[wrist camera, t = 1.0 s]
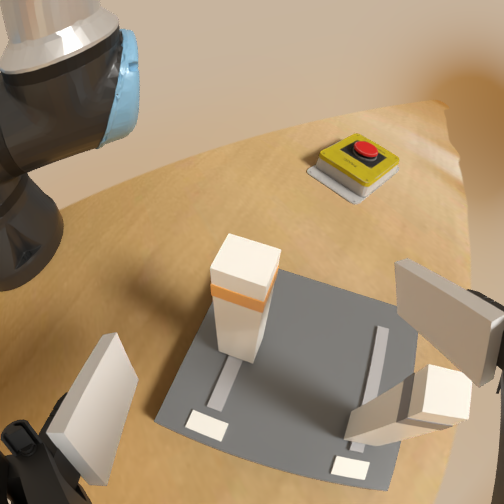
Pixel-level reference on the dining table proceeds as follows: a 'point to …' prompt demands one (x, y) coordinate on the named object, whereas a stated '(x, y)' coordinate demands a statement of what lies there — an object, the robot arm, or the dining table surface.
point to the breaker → (413, 408)
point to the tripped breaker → (242, 294)
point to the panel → (297, 384)
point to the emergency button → (354, 167)
